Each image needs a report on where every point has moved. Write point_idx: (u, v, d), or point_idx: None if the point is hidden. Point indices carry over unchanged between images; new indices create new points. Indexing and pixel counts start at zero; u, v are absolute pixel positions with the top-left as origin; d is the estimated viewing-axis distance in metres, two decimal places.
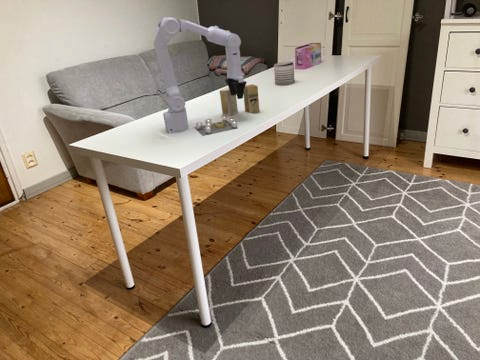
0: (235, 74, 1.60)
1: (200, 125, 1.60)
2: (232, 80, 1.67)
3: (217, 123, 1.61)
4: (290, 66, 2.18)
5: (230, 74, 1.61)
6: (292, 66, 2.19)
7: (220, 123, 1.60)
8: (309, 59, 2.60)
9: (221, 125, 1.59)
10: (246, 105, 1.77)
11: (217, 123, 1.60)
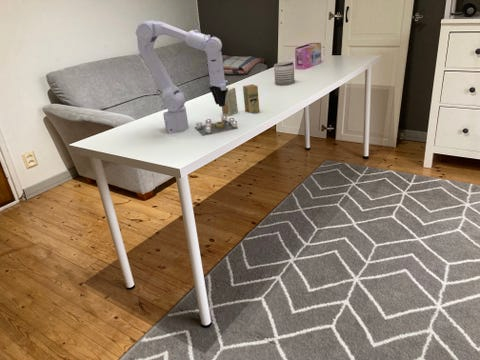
0: (217, 81, 1.51)
1: (200, 125, 1.60)
2: (216, 88, 1.56)
3: (217, 123, 1.61)
4: (290, 66, 2.18)
5: (212, 81, 1.51)
6: (292, 66, 2.19)
7: (220, 123, 1.60)
8: (309, 59, 2.60)
9: (221, 125, 1.59)
10: (246, 105, 1.77)
11: (217, 123, 1.60)
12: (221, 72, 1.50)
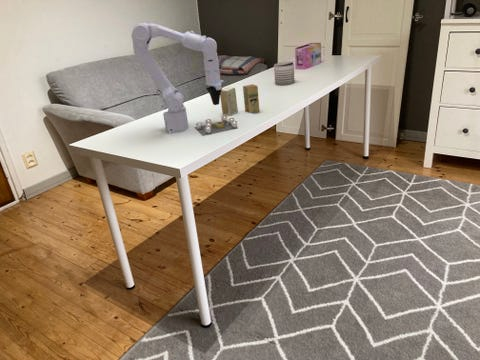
0: (213, 81, 1.54)
1: (200, 125, 1.60)
2: None
3: (217, 123, 1.61)
4: (290, 66, 2.18)
5: (208, 81, 1.54)
6: (292, 66, 2.19)
7: (220, 123, 1.60)
8: (309, 59, 2.60)
9: (221, 125, 1.59)
10: (246, 105, 1.77)
11: (217, 123, 1.60)
12: (217, 72, 1.53)
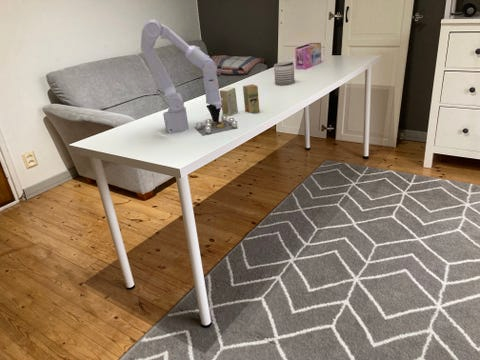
0: (213, 100, 1.59)
1: (200, 125, 1.60)
2: None
3: (217, 123, 1.61)
4: (290, 66, 2.18)
5: (208, 100, 1.60)
6: (292, 66, 2.19)
7: (220, 123, 1.60)
8: (309, 59, 2.60)
9: (221, 125, 1.59)
10: (246, 105, 1.77)
11: (217, 123, 1.60)
12: (216, 91, 1.58)
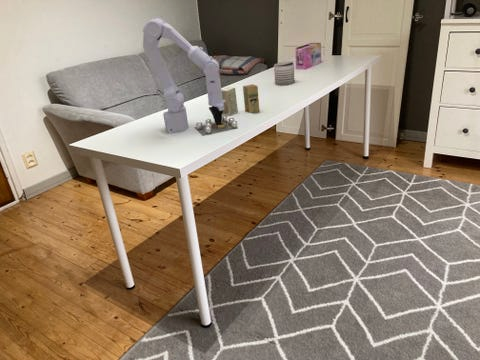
0: (215, 101, 1.56)
1: (200, 125, 1.60)
2: None
3: (218, 124, 1.60)
4: (290, 66, 2.18)
5: (210, 101, 1.57)
6: (292, 66, 2.19)
7: (221, 124, 1.59)
8: (310, 59, 2.60)
9: (222, 126, 1.58)
10: (246, 105, 1.77)
11: (218, 124, 1.60)
12: (219, 93, 1.56)
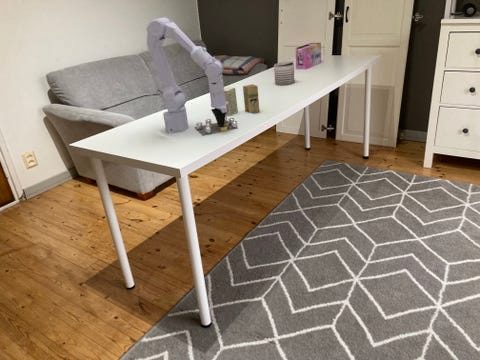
0: (218, 103, 1.53)
1: (200, 125, 1.60)
2: None
3: (221, 126, 1.57)
4: (290, 66, 2.18)
5: (213, 103, 1.54)
6: (292, 66, 2.19)
7: (224, 126, 1.56)
8: (310, 59, 2.60)
9: (225, 128, 1.55)
10: (246, 105, 1.77)
11: (221, 126, 1.57)
12: (222, 94, 1.52)
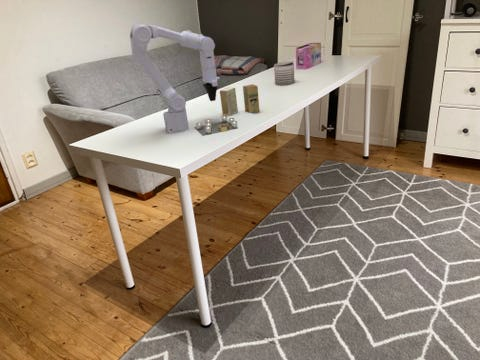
0: (209, 78, 1.58)
1: (200, 125, 1.60)
2: None
3: (221, 126, 1.57)
4: (290, 66, 2.18)
5: (204, 78, 1.59)
6: (292, 66, 2.19)
7: (224, 126, 1.56)
8: (310, 59, 2.60)
9: (225, 128, 1.55)
10: (246, 105, 1.77)
11: (221, 126, 1.57)
12: (213, 69, 1.58)
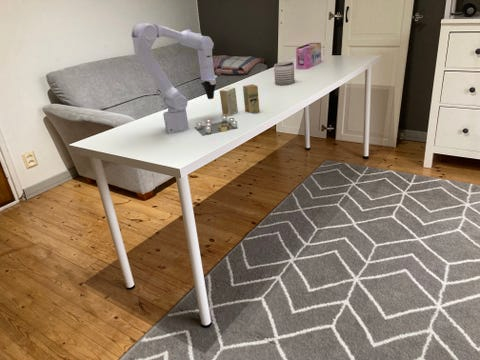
0: (208, 76, 1.62)
1: (200, 125, 1.60)
2: None
3: (221, 126, 1.57)
4: (290, 66, 2.18)
5: (203, 76, 1.62)
6: (292, 66, 2.19)
7: (224, 126, 1.56)
8: (310, 58, 2.60)
9: (225, 128, 1.55)
10: (246, 105, 1.77)
11: (221, 126, 1.57)
12: (211, 68, 1.61)
